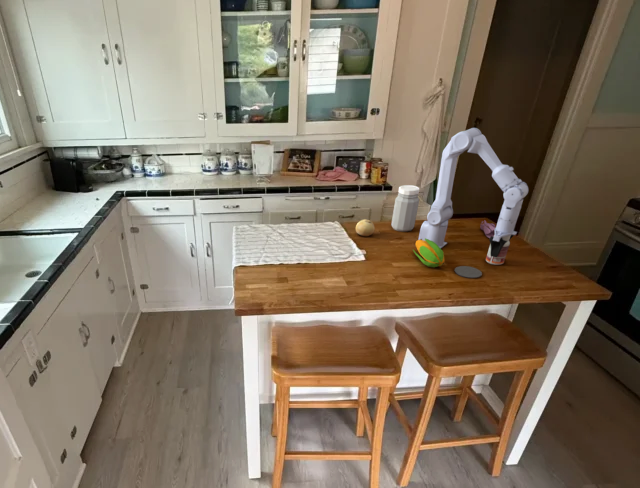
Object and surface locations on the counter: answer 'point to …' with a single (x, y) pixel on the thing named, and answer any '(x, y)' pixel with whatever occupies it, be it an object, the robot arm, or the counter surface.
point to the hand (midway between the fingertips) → (496, 253)
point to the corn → (430, 253)
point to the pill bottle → (502, 254)
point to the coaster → (468, 272)
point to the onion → (365, 227)
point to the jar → (405, 208)
